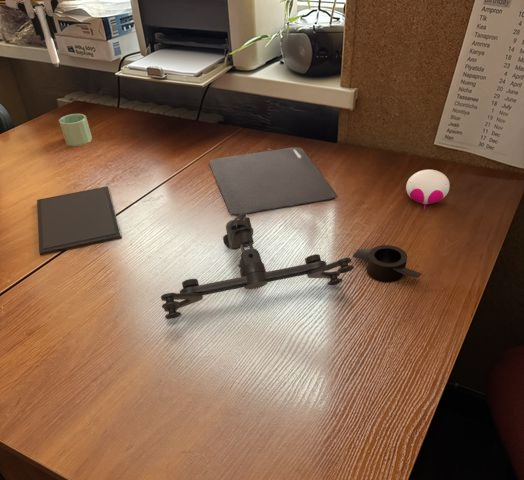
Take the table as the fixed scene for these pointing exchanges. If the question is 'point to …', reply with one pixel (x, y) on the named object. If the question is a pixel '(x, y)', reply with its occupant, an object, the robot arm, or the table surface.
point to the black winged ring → (385, 263)
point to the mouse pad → (269, 180)
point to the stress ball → (427, 186)
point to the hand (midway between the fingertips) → (48, 37)
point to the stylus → (47, 35)
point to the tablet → (76, 220)
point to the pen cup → (75, 129)
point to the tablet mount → (250, 270)
